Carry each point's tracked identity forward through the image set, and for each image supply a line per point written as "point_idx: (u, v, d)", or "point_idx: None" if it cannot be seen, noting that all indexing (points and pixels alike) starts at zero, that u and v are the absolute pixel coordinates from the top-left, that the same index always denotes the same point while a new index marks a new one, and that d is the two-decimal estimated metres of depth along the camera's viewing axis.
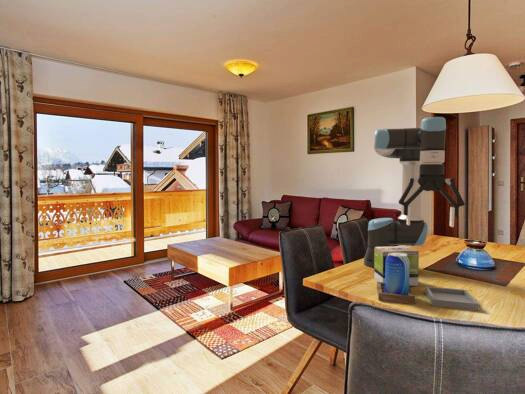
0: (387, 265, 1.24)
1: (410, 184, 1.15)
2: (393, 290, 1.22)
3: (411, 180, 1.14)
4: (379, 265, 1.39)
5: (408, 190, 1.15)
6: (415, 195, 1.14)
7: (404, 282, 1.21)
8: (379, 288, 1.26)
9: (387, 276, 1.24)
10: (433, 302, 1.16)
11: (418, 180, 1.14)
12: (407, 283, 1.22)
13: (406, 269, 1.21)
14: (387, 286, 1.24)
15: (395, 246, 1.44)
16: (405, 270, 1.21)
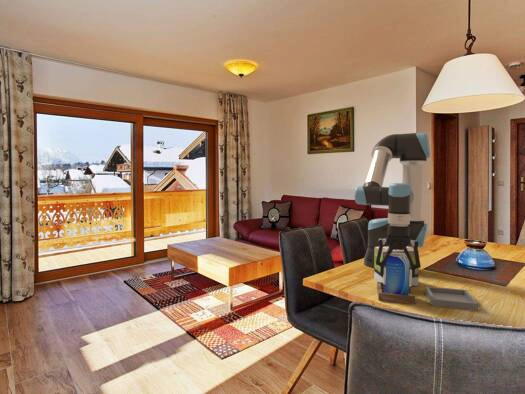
0: (387, 265, 1.24)
1: (380, 245, 1.25)
2: (393, 290, 1.22)
3: (380, 241, 1.25)
4: None
5: (380, 251, 1.25)
6: (387, 255, 1.24)
7: (404, 282, 1.21)
8: (379, 288, 1.26)
9: (387, 276, 1.24)
10: (433, 302, 1.16)
11: (386, 240, 1.24)
12: (407, 283, 1.22)
13: (406, 269, 1.21)
14: (387, 286, 1.24)
15: None
16: (405, 270, 1.21)
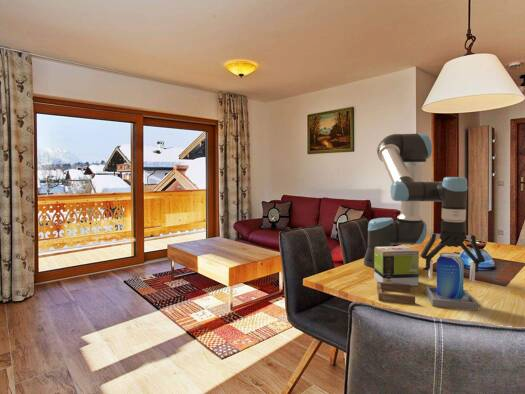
0: (439, 267, 1.19)
1: (432, 239, 1.20)
2: (447, 292, 1.17)
3: (433, 236, 1.19)
4: (379, 265, 1.39)
5: (430, 245, 1.20)
6: (437, 250, 1.19)
7: (459, 284, 1.16)
8: (379, 288, 1.26)
9: (440, 278, 1.19)
10: (433, 302, 1.16)
11: (440, 236, 1.19)
12: (462, 285, 1.17)
13: (461, 270, 1.16)
14: (440, 289, 1.19)
15: (395, 246, 1.43)
16: (460, 271, 1.16)
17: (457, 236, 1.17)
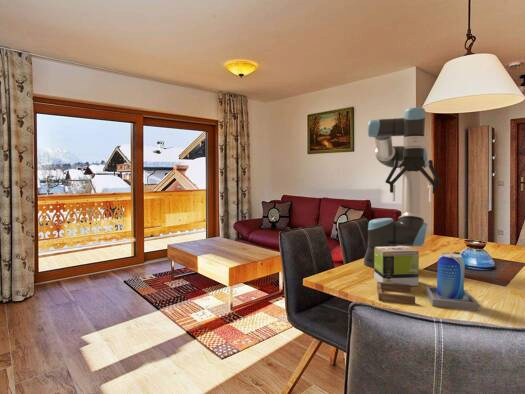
0: (440, 267, 1.19)
1: (395, 165, 1.33)
2: (447, 293, 1.17)
3: (396, 162, 1.33)
4: (379, 265, 1.39)
5: (393, 171, 1.34)
6: (399, 175, 1.33)
7: (459, 285, 1.16)
8: (379, 288, 1.26)
9: (440, 278, 1.19)
10: (433, 302, 1.16)
11: (402, 162, 1.33)
12: (462, 285, 1.17)
13: (462, 271, 1.16)
14: (440, 288, 1.19)
15: (395, 246, 1.43)
16: (461, 272, 1.16)
17: (416, 161, 1.31)
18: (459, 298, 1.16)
